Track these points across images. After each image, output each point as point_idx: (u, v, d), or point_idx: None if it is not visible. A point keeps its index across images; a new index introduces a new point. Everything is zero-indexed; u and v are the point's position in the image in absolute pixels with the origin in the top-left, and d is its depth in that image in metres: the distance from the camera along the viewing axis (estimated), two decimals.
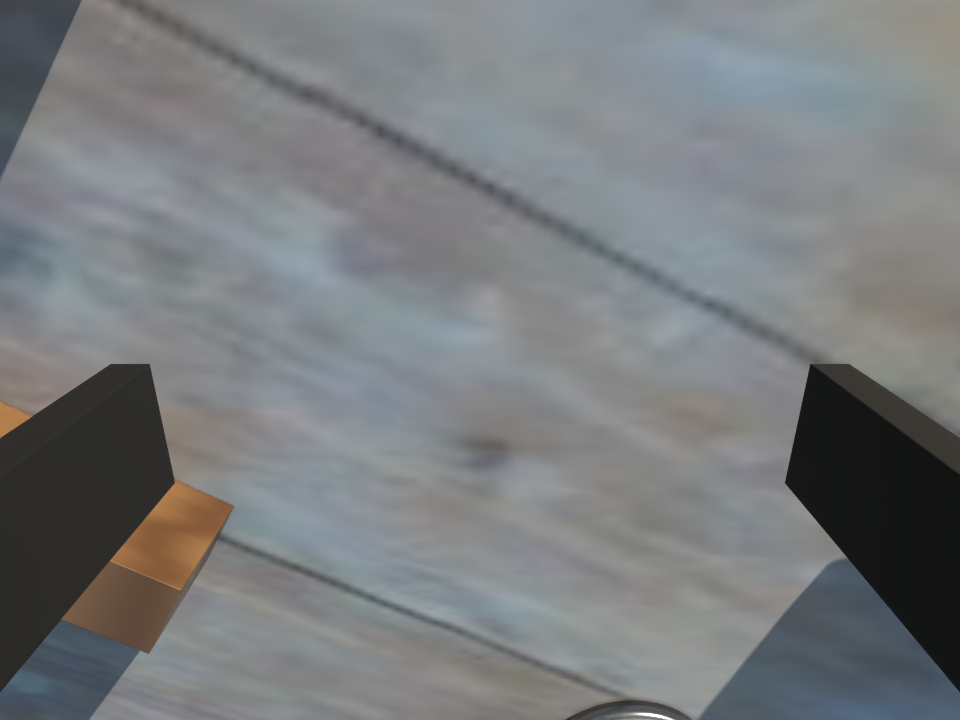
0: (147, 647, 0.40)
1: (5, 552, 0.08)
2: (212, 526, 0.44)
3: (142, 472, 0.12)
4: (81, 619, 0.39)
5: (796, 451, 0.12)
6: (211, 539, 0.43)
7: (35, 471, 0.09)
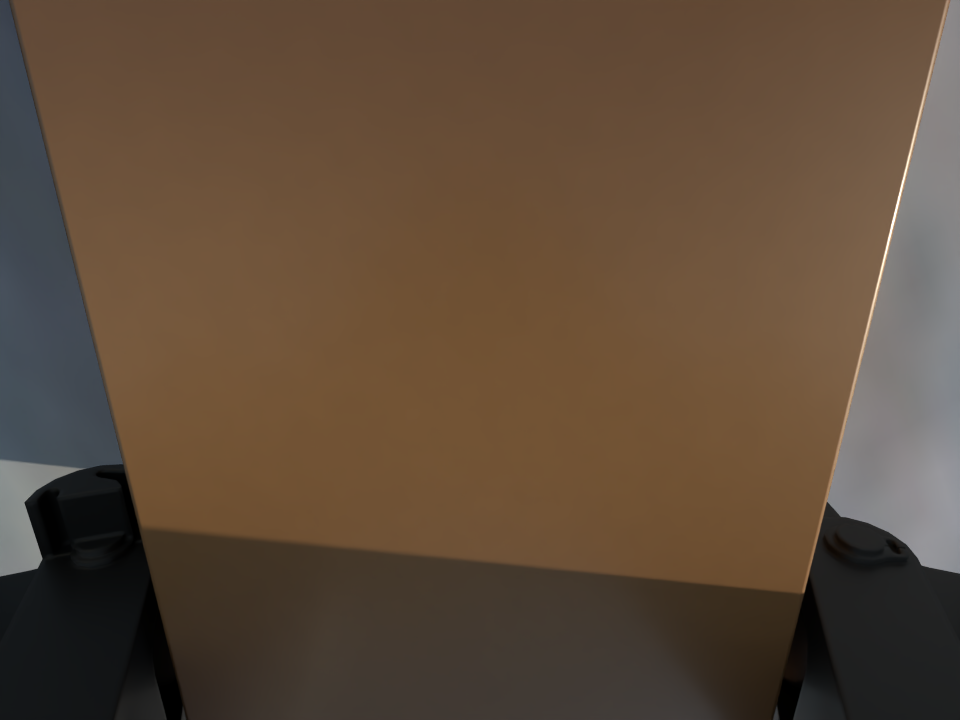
0: None
1: None
2: None
3: None
4: (231, 625, 0.06)
5: None
6: None
7: None
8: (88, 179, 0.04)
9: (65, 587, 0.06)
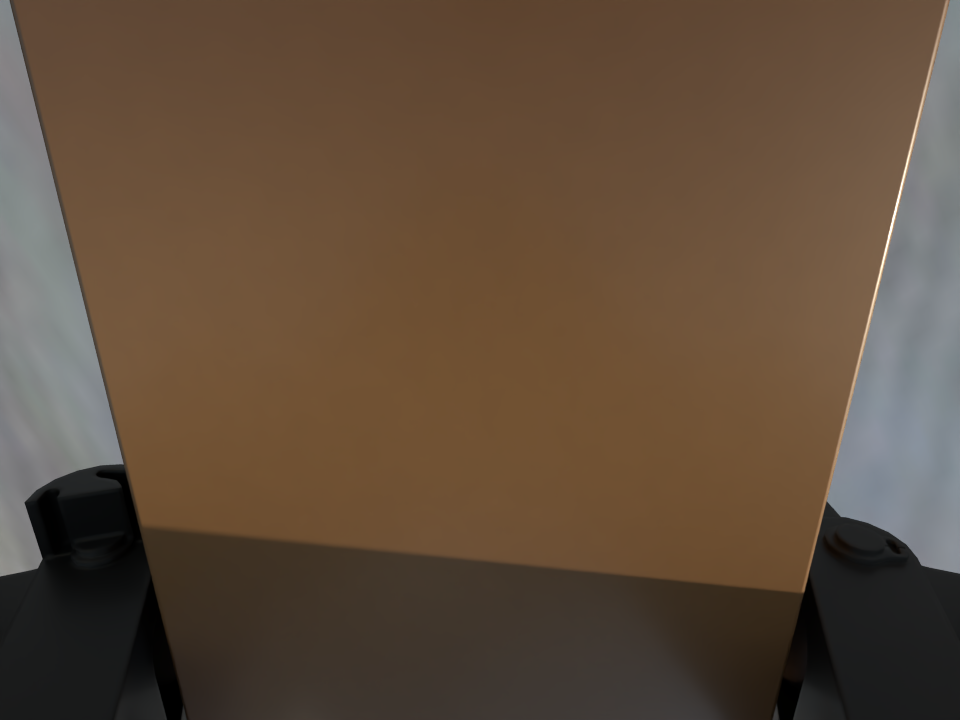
0: None
1: None
2: None
3: None
4: (231, 623, 0.06)
5: None
6: None
7: None
8: (88, 177, 0.04)
9: (65, 587, 0.06)
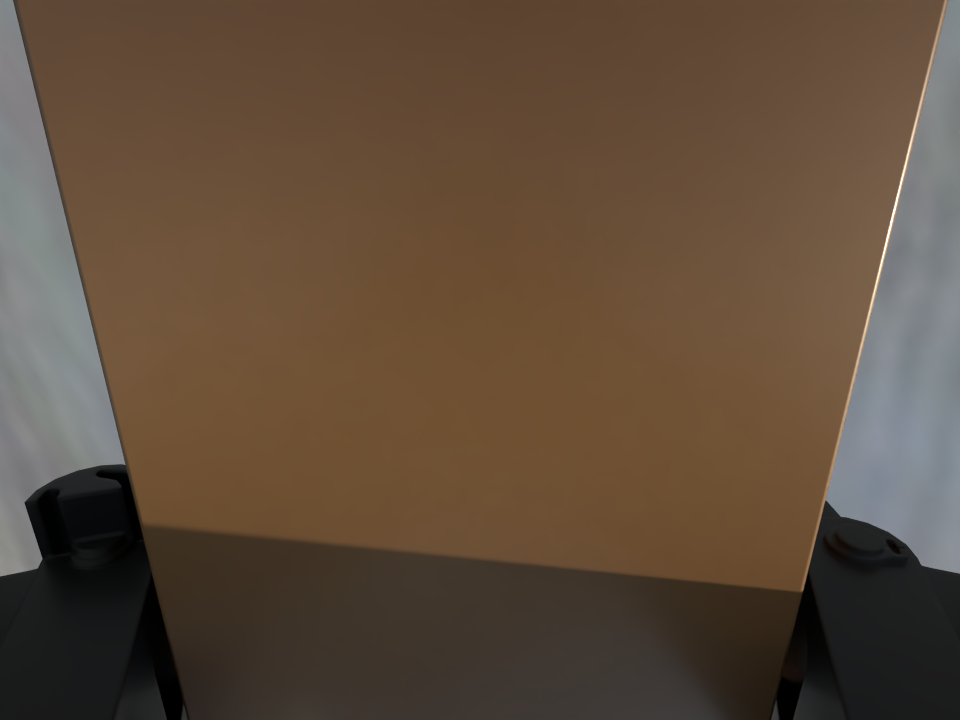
0: None
1: None
2: None
3: None
4: (231, 621, 0.06)
5: None
6: None
7: None
8: (90, 175, 0.04)
9: (65, 587, 0.06)
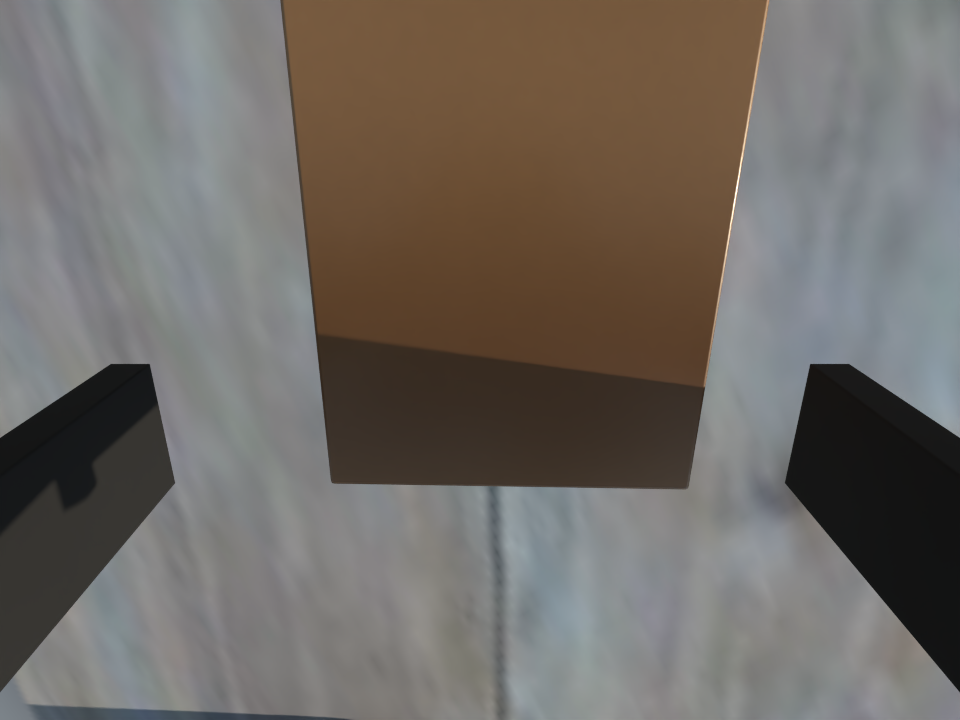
0: (358, 471, 0.10)
1: (5, 552, 0.08)
2: None
3: (142, 472, 0.12)
4: (348, 206, 0.09)
5: (795, 451, 0.12)
6: None
7: (35, 471, 0.09)
8: None
9: None
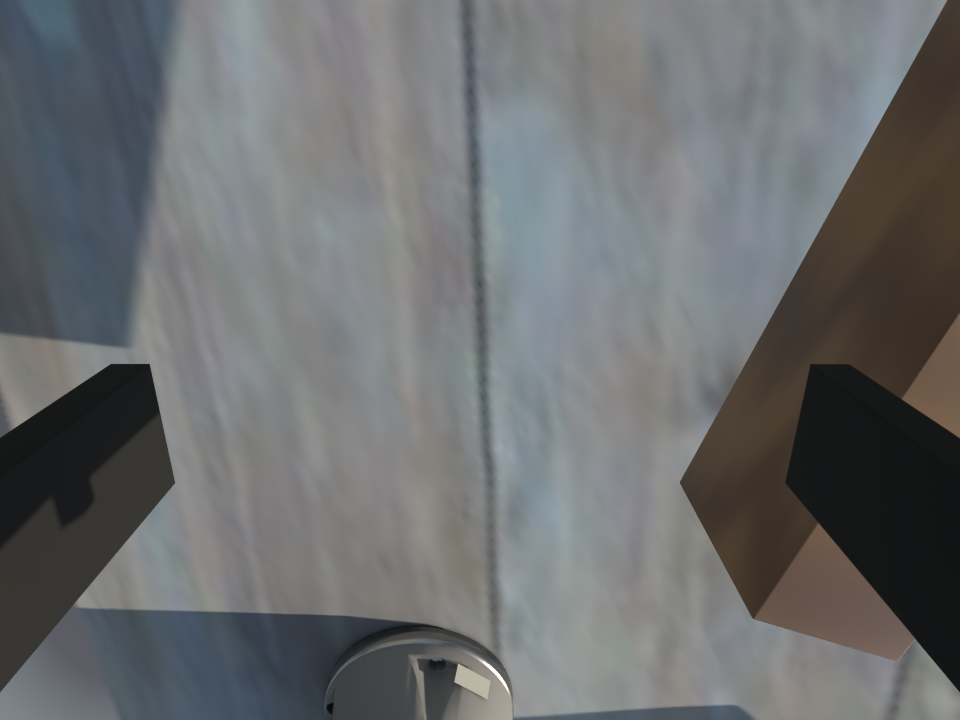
0: (768, 617, 0.22)
1: (5, 552, 0.08)
2: None
3: (142, 472, 0.12)
4: None
5: (796, 451, 0.12)
6: None
7: (35, 471, 0.09)
8: None
9: None
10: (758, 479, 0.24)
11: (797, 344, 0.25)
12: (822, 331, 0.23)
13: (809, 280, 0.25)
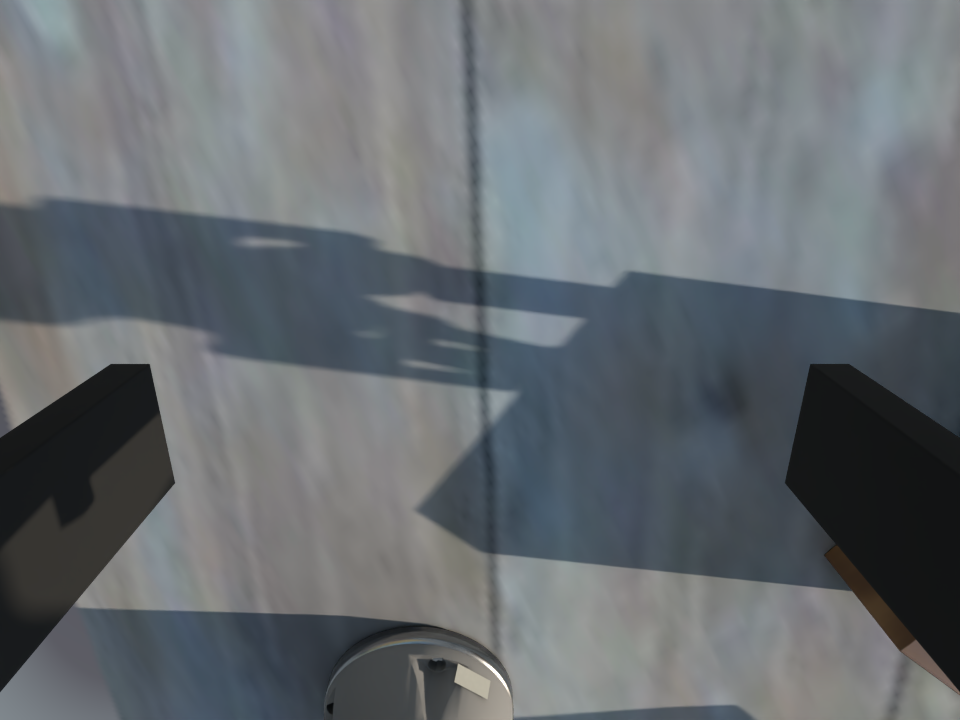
0: (908, 652, 0.37)
1: (5, 552, 0.08)
2: None
3: (142, 472, 0.12)
4: None
5: (796, 451, 0.12)
6: None
7: (35, 471, 0.09)
8: None
9: None
10: None
11: None
12: None
13: None
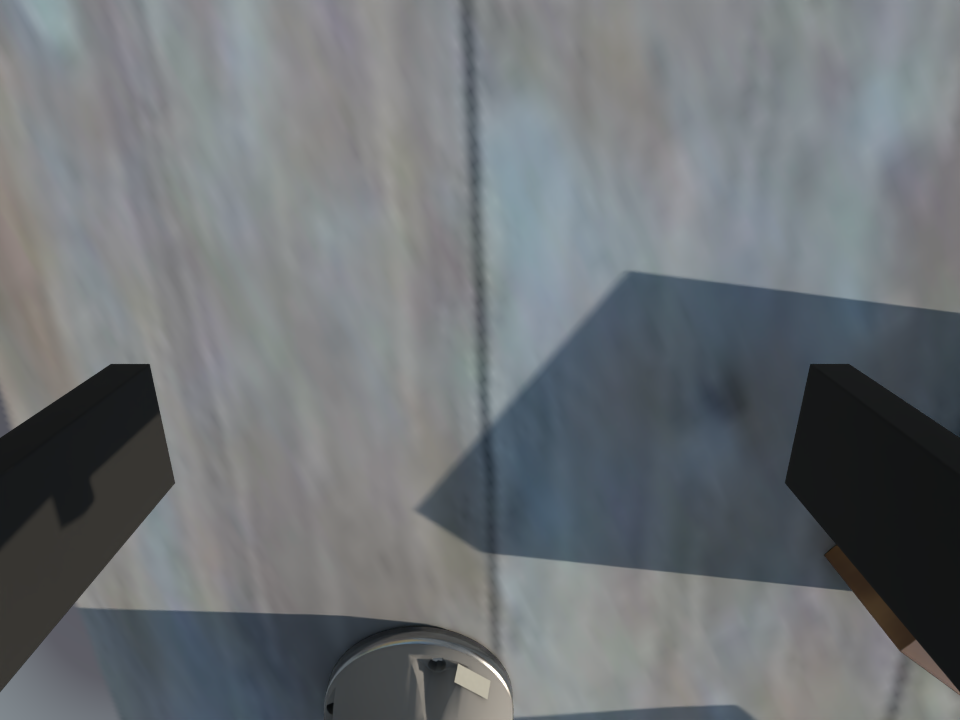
0: (908, 652, 0.37)
1: (5, 552, 0.08)
2: None
3: (142, 472, 0.12)
4: None
5: (796, 451, 0.12)
6: None
7: (35, 471, 0.09)
8: None
9: None
10: None
11: None
12: None
13: None
